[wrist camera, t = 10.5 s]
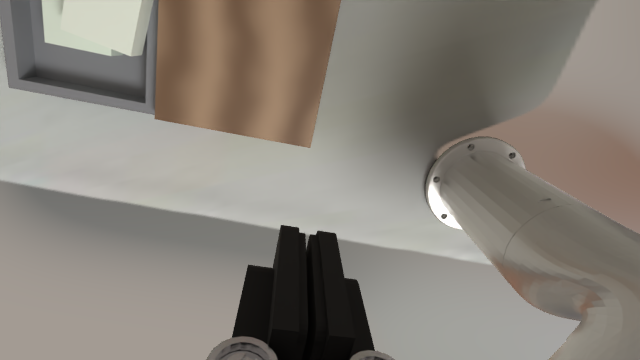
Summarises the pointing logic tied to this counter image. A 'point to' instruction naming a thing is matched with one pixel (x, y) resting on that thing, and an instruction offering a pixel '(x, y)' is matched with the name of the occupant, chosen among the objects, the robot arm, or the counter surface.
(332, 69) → the counter surface
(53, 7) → the tile rear
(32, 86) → the box
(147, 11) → the tile front
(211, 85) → the tan square panel
